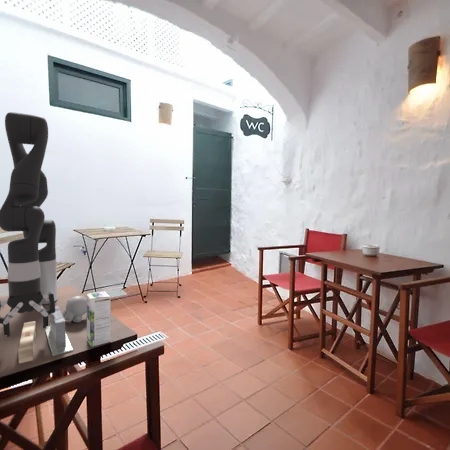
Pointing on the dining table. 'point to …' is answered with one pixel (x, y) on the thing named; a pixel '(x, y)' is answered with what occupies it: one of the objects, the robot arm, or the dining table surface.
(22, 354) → the beam
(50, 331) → the ridge
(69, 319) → the chubby cartoon animal
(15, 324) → the dining table surface
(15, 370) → the dining table surface
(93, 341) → the syrup box
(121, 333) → the dining table surface
